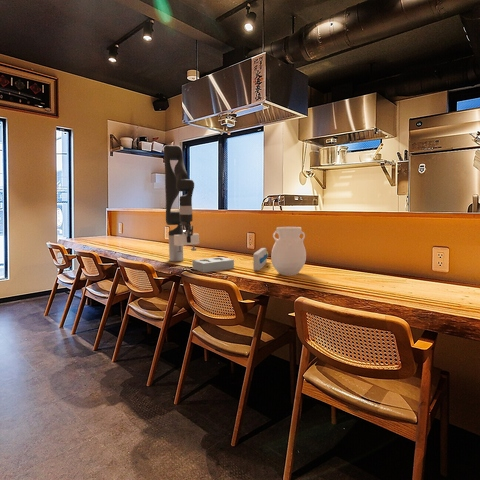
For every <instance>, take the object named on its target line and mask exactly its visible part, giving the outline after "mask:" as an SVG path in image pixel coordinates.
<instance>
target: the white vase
mask: <svg viewBox="0 0 480 480" xmlns="http://www.w3.org/2000/svg"><path fill="white" fill-rule="evenodd" d="M302 229H303V228H302V227H301V226H277V227H276V230H275V231H274V232H273V233H272V238H273V239H274V241H275V242H274V244H273V246H272V248H271V254H270V256H271V257H270V259H271V264H272V266H273V268H274V269H275V270H276V271H277V272H278V273H279V274H280V275H282V276H296V275H299V273H300V271H302V269H303V267H304V266H305V263H306V260H307V250H306V247H305V244H304V240H305V238H306V233H305V232H304V231H303V230H302ZM276 234H277V235H278V238H277V237H276ZM301 235H302V238H301V237H300V236H301Z"/></svg>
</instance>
